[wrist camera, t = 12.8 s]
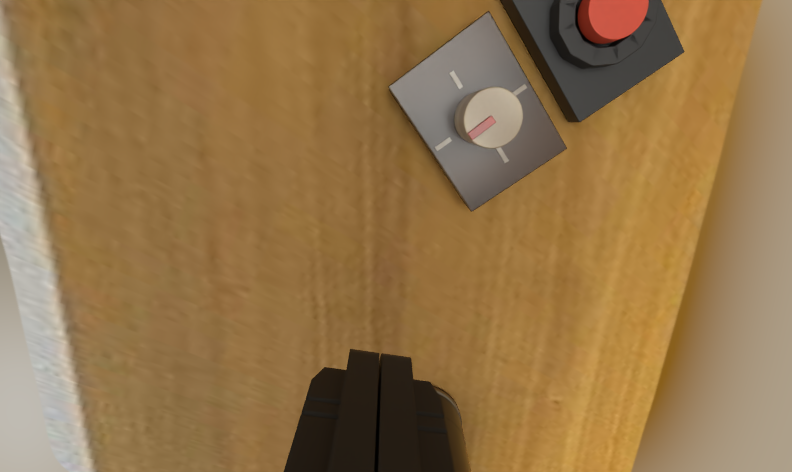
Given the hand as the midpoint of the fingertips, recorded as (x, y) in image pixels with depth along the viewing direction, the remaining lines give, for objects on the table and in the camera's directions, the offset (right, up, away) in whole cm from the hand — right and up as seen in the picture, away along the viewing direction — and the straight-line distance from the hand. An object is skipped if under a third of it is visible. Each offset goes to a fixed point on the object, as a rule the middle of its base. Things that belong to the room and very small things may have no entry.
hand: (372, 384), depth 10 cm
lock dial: (+7, +13, +21) cm, 26 cm away
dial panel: (+7, +14, +24) cm, 28 cm away
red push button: (+16, +20, +18) cm, 31 cm away
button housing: (+16, +21, +22) cm, 34 cm away
